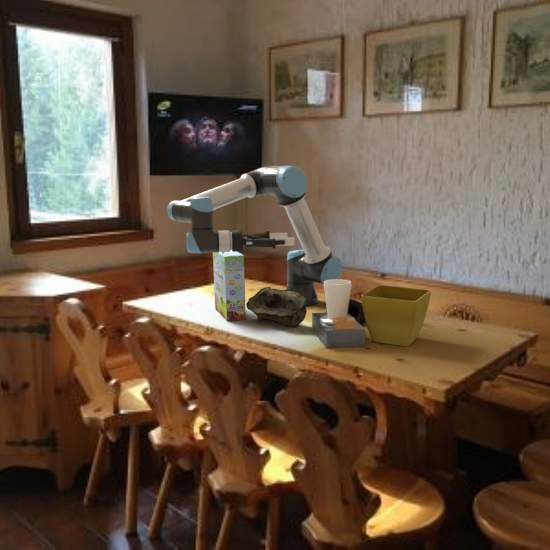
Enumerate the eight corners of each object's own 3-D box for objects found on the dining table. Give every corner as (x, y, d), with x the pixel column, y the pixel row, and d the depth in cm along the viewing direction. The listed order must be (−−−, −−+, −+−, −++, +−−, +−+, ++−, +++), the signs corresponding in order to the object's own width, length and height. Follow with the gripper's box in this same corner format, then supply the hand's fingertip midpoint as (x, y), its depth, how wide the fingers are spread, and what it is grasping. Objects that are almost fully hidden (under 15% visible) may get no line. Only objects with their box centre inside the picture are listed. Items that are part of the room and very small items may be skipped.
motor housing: (312, 328, 226) (312, 305, 224) (346, 327, 227) (346, 303, 226) (326, 348, 202) (326, 322, 201) (364, 346, 204) (365, 320, 202)
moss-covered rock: (304, 342, 225) (326, 309, 229) (286, 323, 217) (308, 290, 222) (258, 325, 246) (278, 295, 250) (239, 307, 239) (261, 276, 243)
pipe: (346, 294, 248) (329, 294, 236) (380, 301, 240) (365, 301, 228) (342, 318, 249) (325, 319, 236) (376, 325, 241) (361, 327, 228)
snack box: (213, 308, 257) (211, 248, 252) (233, 307, 259) (232, 246, 255) (225, 321, 237) (223, 255, 232) (247, 319, 239) (246, 254, 234)
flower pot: (414, 351, 199) (416, 301, 196) (358, 343, 208) (359, 294, 205) (429, 336, 215) (431, 289, 212) (378, 329, 224) (379, 284, 221)
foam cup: (318, 319, 212) (318, 282, 210) (331, 313, 220) (331, 278, 217) (343, 323, 207) (343, 285, 205) (355, 317, 215) (356, 281, 212)
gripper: (228, 246, 228) (284, 244, 231) (234, 257, 204) (297, 254, 207) (227, 226, 227) (284, 224, 230) (233, 235, 202) (296, 232, 205)
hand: (290, 238), depth 218 cm, fingers open, 13 cm apart
